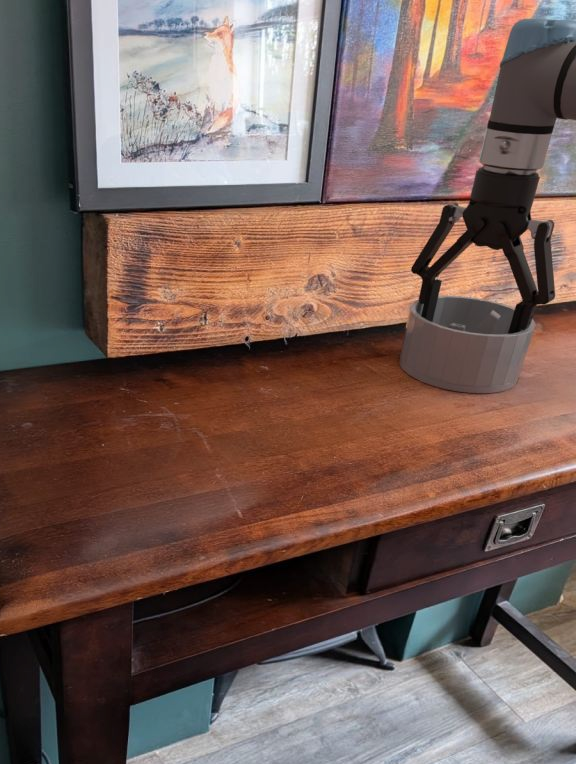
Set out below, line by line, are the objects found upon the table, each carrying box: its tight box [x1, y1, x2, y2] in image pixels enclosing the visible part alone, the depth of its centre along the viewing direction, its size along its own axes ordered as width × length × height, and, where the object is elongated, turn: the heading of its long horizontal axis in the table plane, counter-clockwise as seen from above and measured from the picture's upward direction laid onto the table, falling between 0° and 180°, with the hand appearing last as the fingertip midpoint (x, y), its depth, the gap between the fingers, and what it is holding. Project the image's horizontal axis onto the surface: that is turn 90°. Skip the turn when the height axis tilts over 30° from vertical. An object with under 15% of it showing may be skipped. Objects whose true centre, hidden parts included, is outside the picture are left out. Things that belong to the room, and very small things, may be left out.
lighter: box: [447, 310, 500, 334], centre depth 103 cm, size 7×2×8 cm, turn 61°
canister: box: [398, 295, 536, 394], centre depth 104 cm, size 16×16×8 cm
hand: (465, 338), depth 104 cm, fingers open, 12 cm apart
